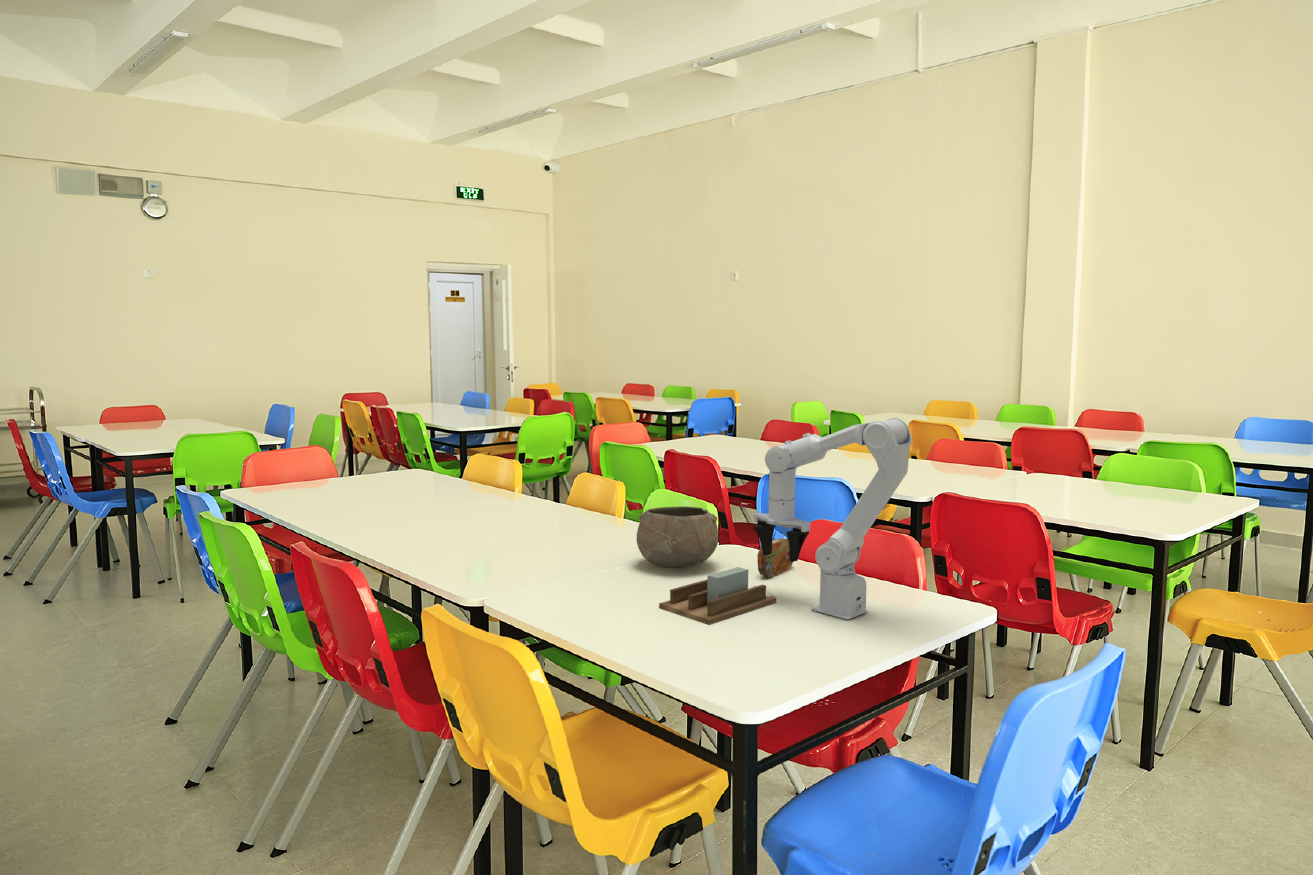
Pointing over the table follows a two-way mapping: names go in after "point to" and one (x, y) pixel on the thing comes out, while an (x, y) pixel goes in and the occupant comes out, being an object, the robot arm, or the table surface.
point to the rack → (714, 602)
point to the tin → (775, 559)
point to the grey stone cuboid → (726, 583)
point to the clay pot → (677, 536)
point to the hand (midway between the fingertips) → (780, 557)
